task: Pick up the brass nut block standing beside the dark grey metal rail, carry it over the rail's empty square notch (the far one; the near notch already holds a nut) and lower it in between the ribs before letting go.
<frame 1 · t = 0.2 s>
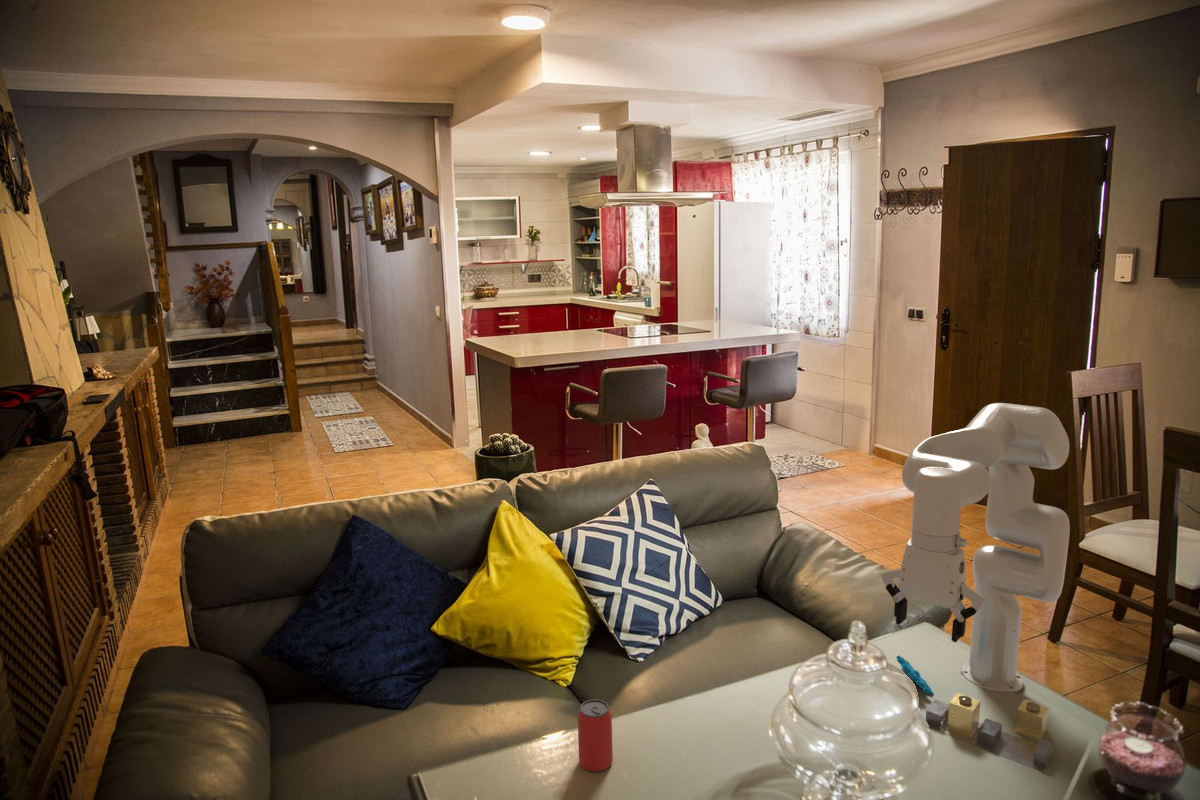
hand: (928, 629, 138), 31 cm above the table, tool pointing down, fingers open, 9 cm apart
seated nut block: (962, 728, 158), point 1 cm above the table, touching rail
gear: (912, 690, 174), on the table
brass nut block: (1030, 735, 157), on the table
rail: (986, 741, 155), on the table
beer can: (596, 763, 152), on the table
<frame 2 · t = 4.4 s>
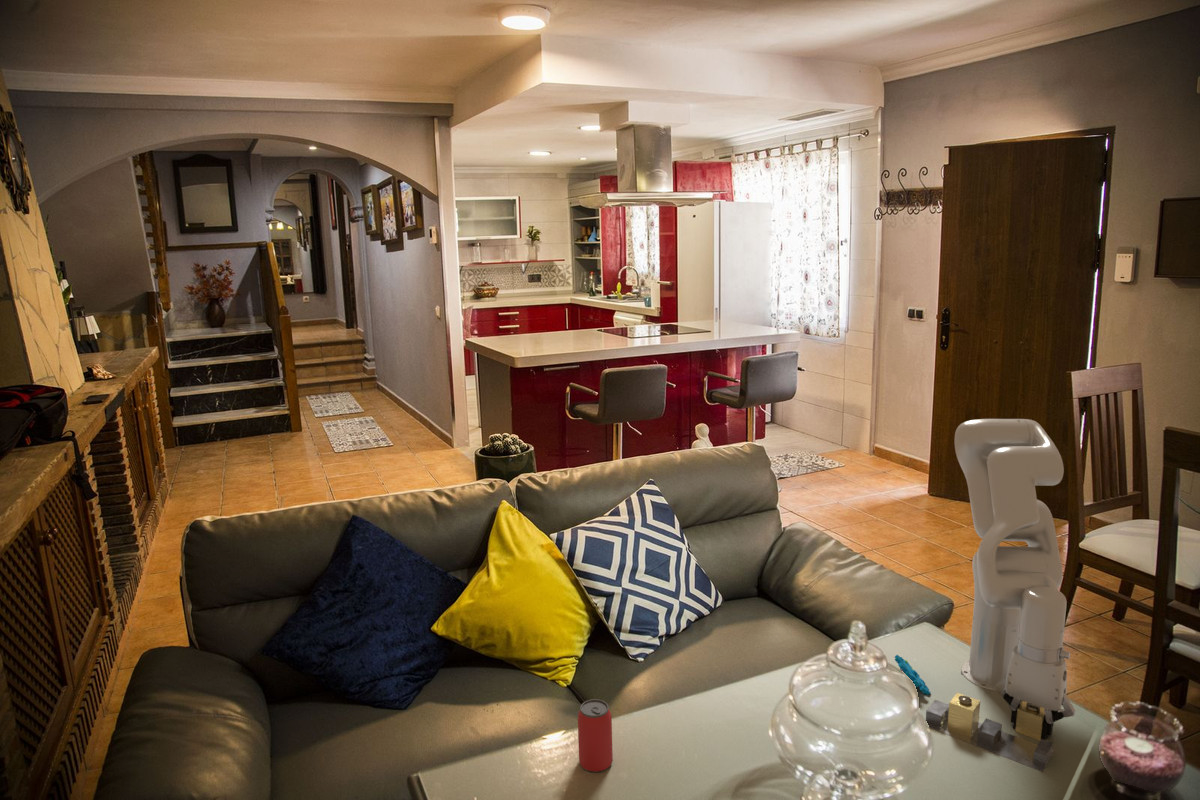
hand: (1030, 730, 157), 1 cm above the table, tool pointing down, fingers closed on brass nut block, 4 cm apart
brass nut block: (1030, 735, 157), on the table, touching gripper
everything else where it was.
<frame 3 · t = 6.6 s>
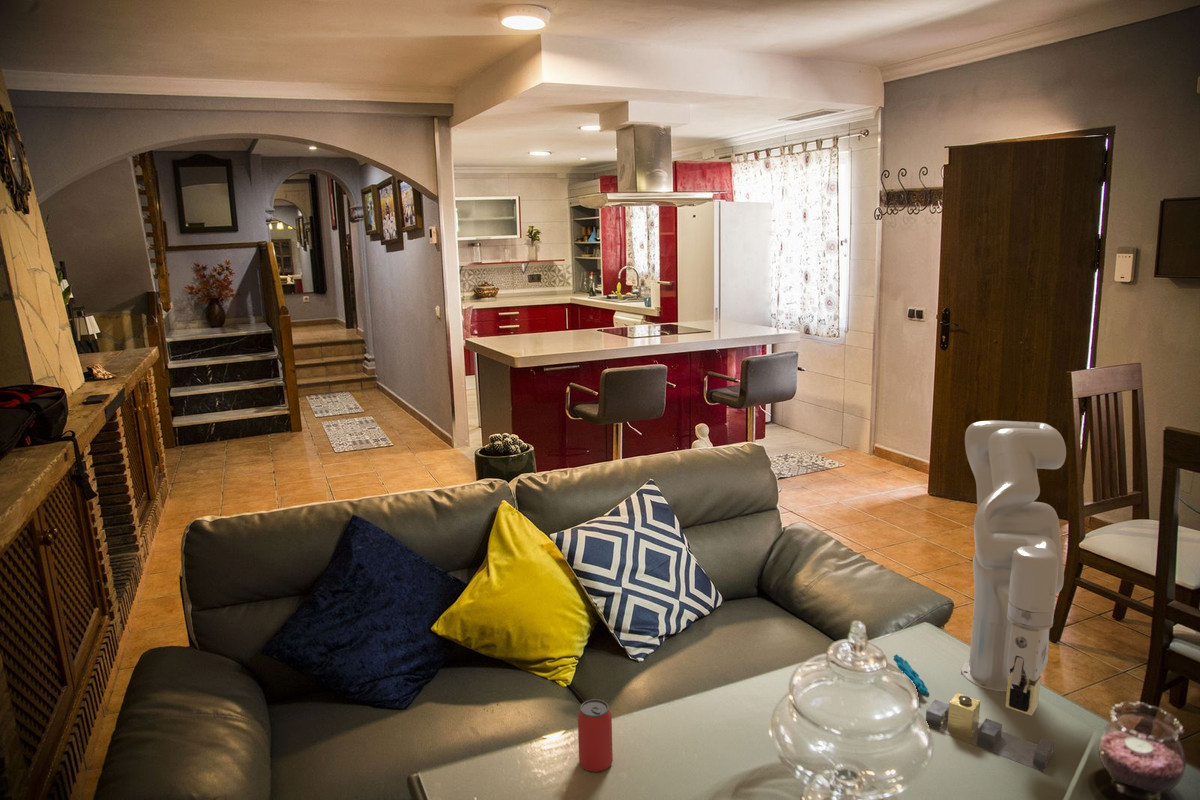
hand: (1022, 701, 149), 12 cm above the table, tool pointing down, fingers closed on brass nut block, 4 cm apart
brass nut block: (1021, 706, 149), point 11 cm above the table, touching gripper
everything else where it was.
when the fingers open (3 cm above the table, at t = 8.6 s): brass nut block stays where it is, resting on rail.
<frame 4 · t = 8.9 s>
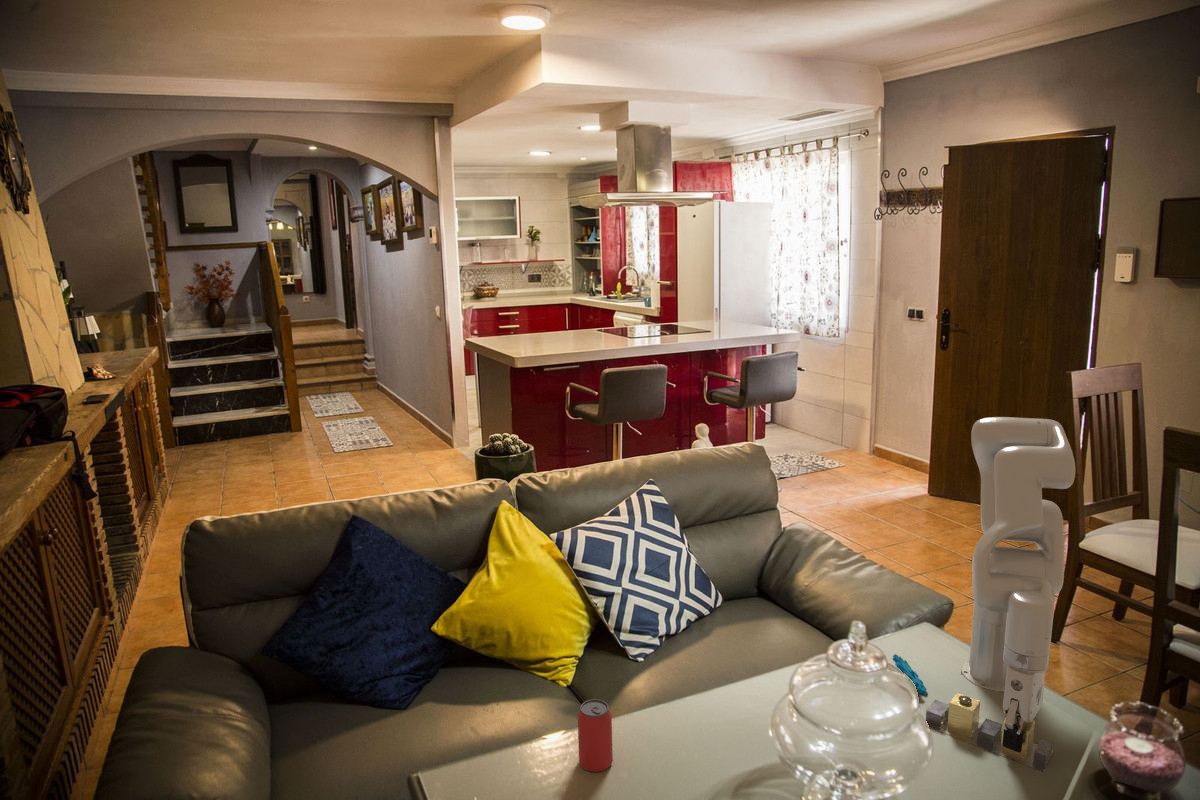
hand: (1017, 738, 151), 3 cm above the table, tool pointing down, fingers open, 7 cm apart
brass nut block: (1016, 748, 152), point 1 cm above the table, touching rail
everything else where it was.
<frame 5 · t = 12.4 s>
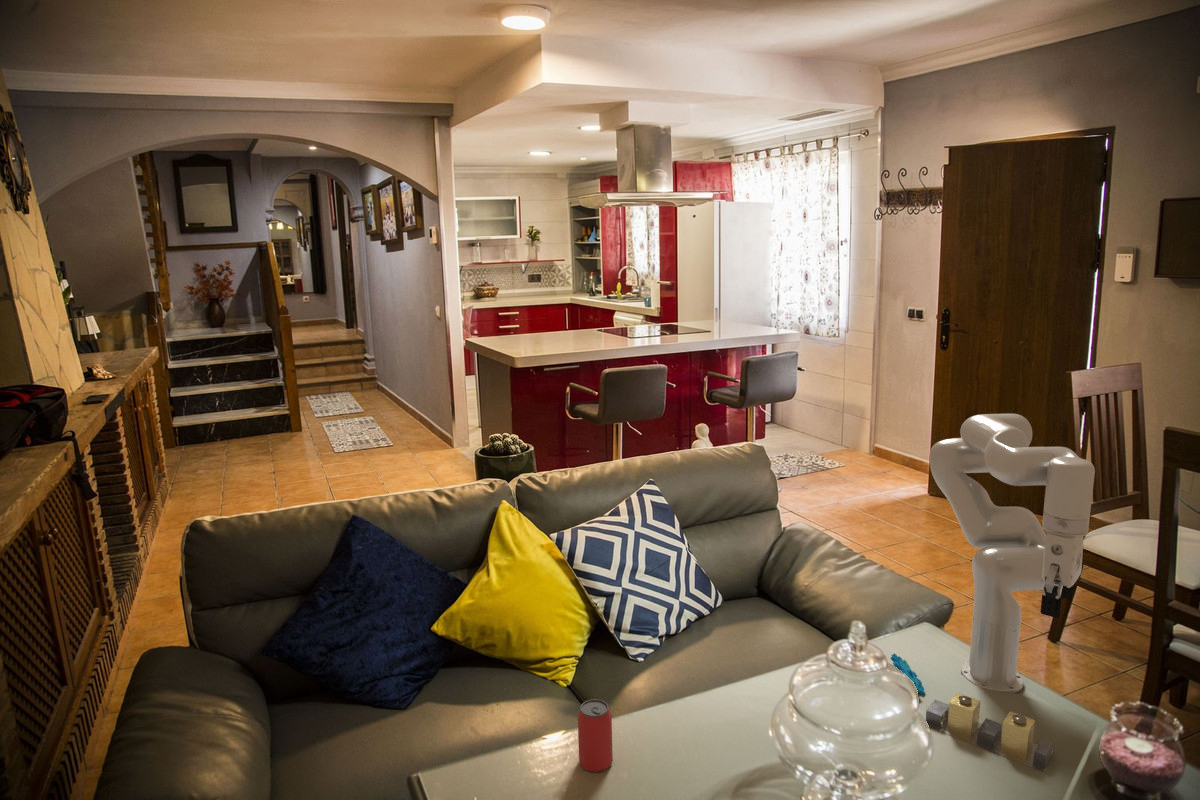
hand: (1056, 606, 151), 28 cm above the table, tool pointing down, fingers open, 9 cm apart
at the end: brass nut block 0.1 cm from the target spot on the rail, point 1.0 cm above the rail's base; brass nut block tilted 0°; the gripper is holding nothing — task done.
